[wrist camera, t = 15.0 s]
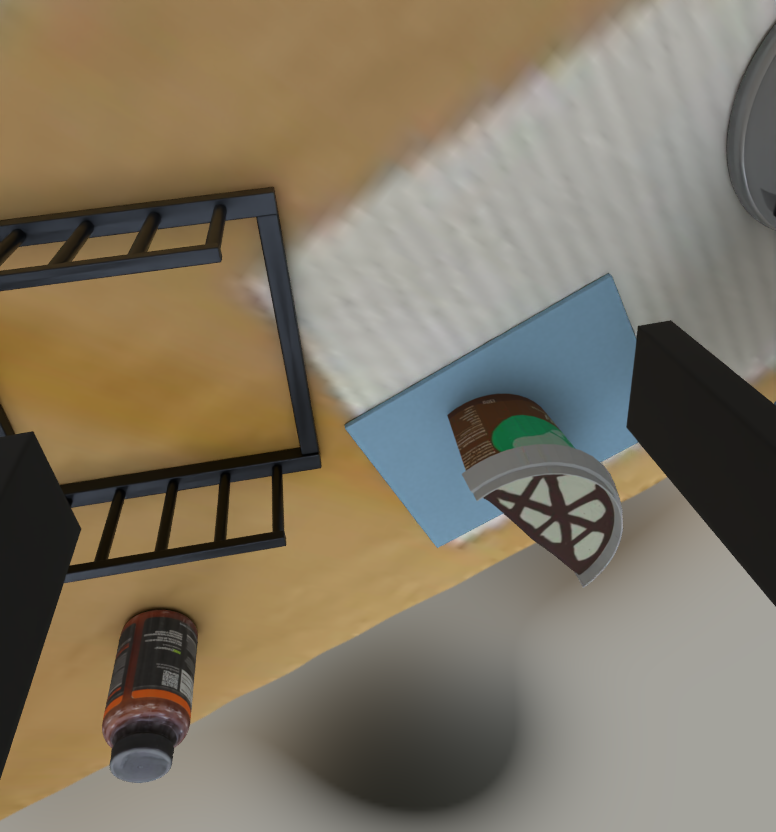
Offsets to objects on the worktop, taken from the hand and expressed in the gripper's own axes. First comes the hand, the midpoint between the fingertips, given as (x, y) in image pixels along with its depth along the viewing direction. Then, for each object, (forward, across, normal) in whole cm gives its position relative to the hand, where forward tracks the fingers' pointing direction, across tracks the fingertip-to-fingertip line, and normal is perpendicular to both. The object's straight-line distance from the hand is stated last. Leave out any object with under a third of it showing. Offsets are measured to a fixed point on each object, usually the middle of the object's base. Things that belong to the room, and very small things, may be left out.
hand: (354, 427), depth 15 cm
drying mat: (+26, -12, +20) cm, 35 cm away
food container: (+25, -12, +20) cm, 34 cm away
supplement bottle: (+26, +17, +34) cm, 46 cm away
